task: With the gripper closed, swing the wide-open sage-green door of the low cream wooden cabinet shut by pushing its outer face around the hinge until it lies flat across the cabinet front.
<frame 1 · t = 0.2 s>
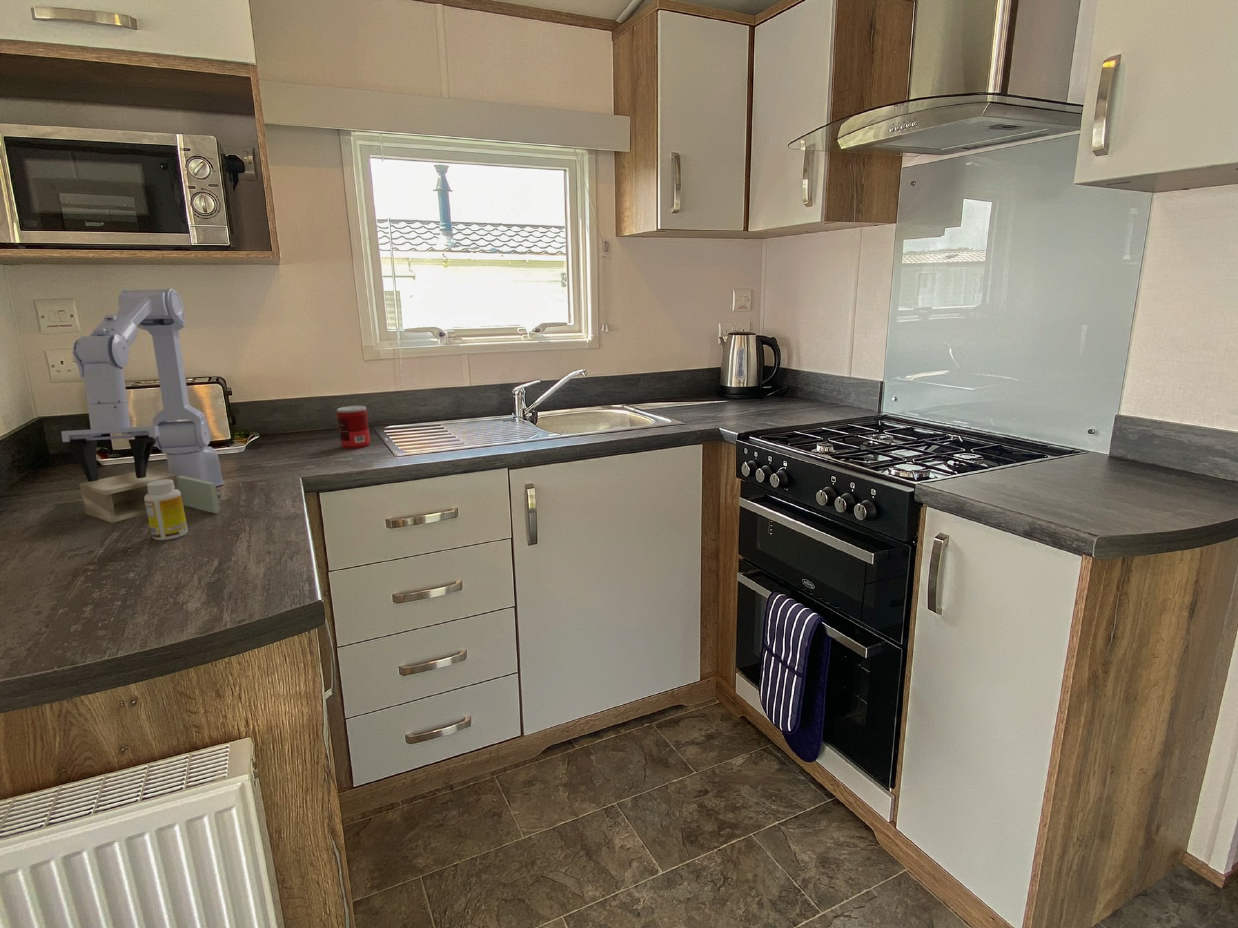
hand: (117, 479, 123), 11 cm above the counter, tool pointing down, fingers open, 7 cm apart
canned food: (356, 446, 195), on the counter
cabinet: (134, 509, 141), on the counter
door: (200, 493, 139), point 3 cm above the counter, hinge at 90.0°
supplement bottle: (170, 537, 125), on the counter
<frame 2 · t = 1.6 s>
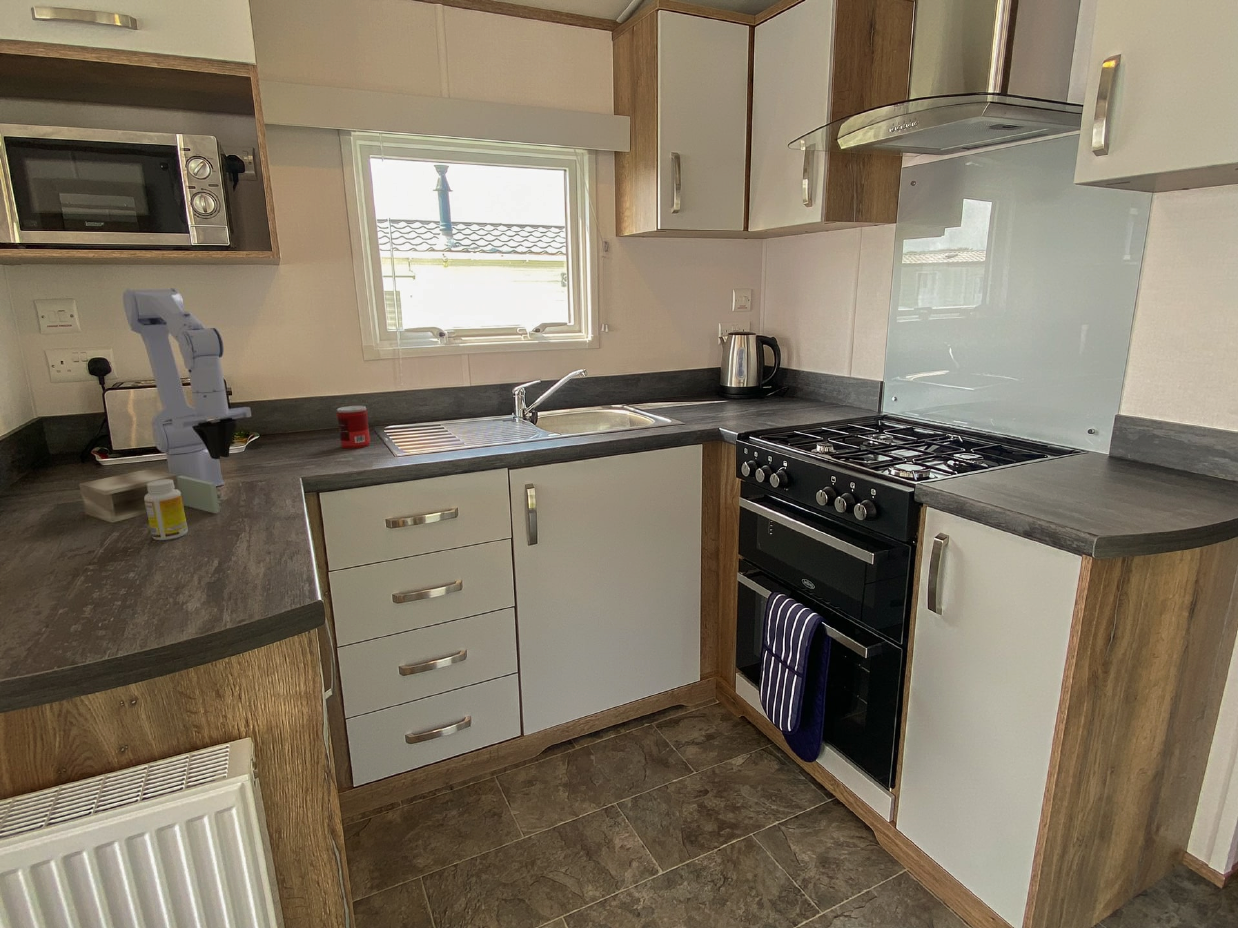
hand: (220, 457, 139), 10 cm above the counter, tool pointing down, fingers closed
nothing on the counter moved.
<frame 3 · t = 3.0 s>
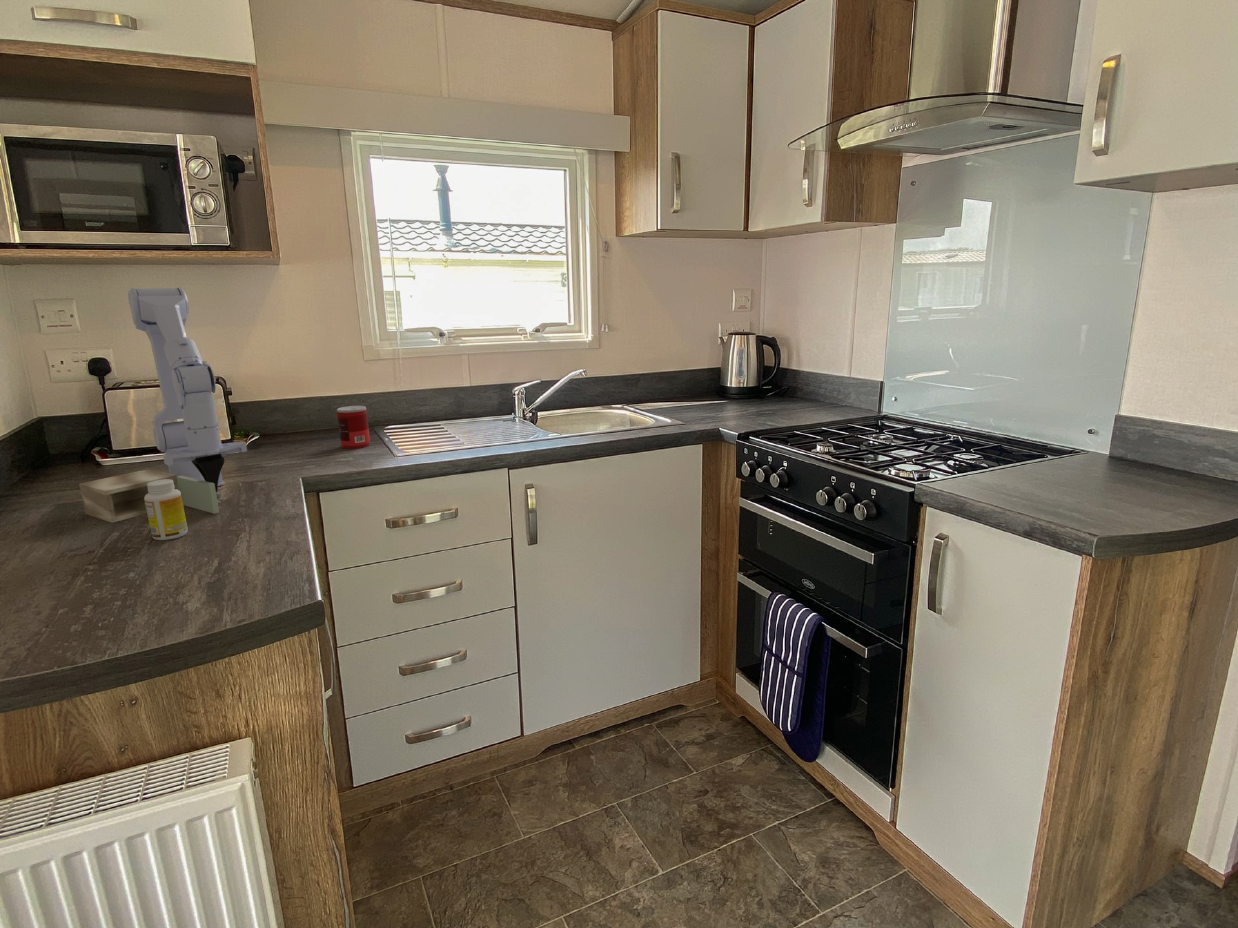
hand: (213, 492, 139), 4 cm above the counter, tool pointing down, fingers closed
door: (200, 493, 139), point 3 cm above the counter, hinge at 89.4°, touching gripper
everything else where it was.
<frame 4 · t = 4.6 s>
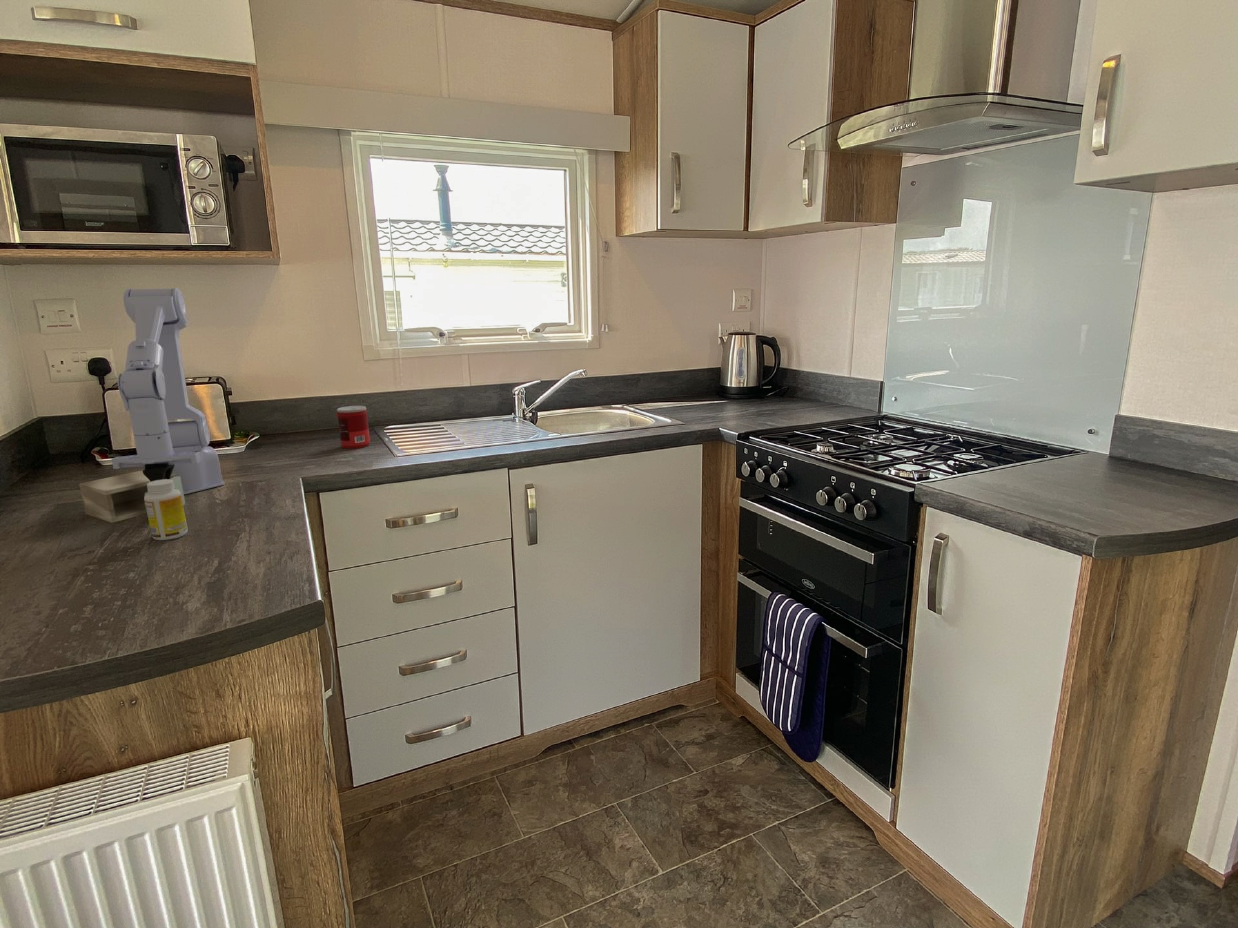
hand: (165, 501, 133), 4 cm above the counter, tool pointing down, fingers closed, pressing on door
door: (169, 498, 136), point 3 cm above the counter, hinge at 40.0°, touching gripper
everything else where it was.
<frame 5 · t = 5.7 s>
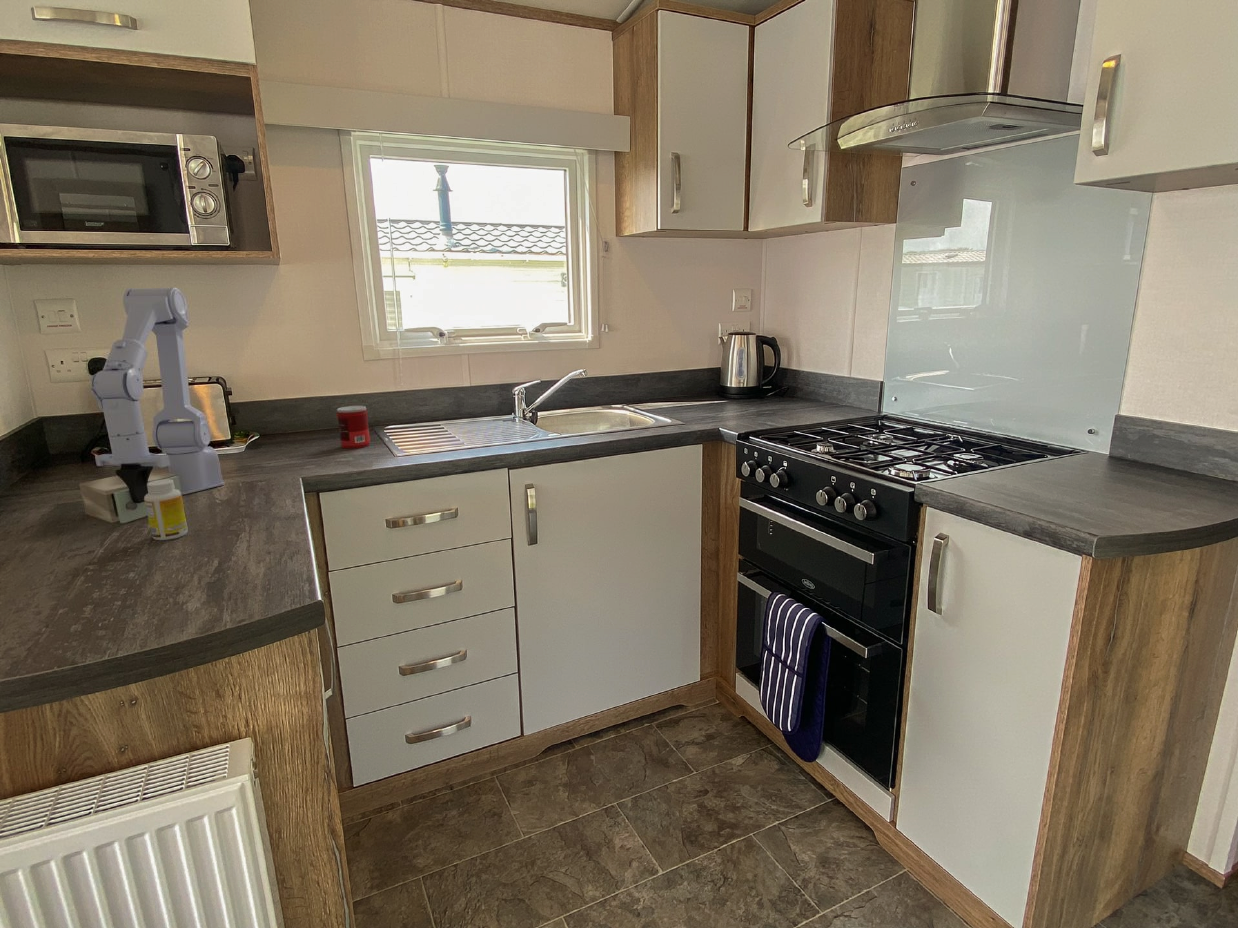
hand: (140, 501, 133), 4 cm above the counter, tool pointing down, fingers closed, pressing on door
door: (152, 499, 136), point 3 cm above the counter, hinge at 10.0°, touching gripper
everything else where it was.
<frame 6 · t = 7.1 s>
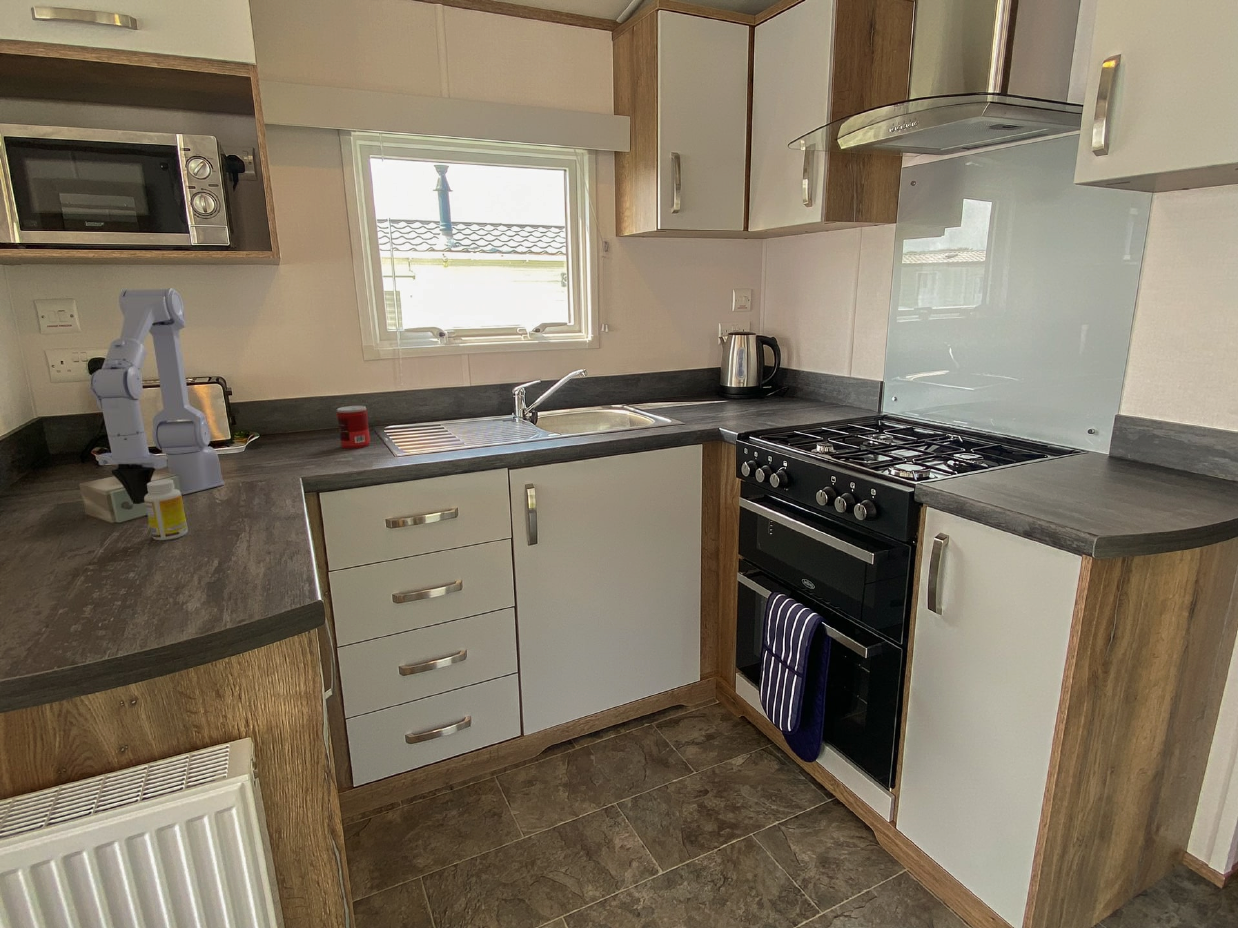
hand: (140, 502, 131), 4 cm above the counter, tool pointing down, fingers closed
door: (150, 498, 136), point 3 cm above the counter, hinge at 4.4°
everything else where it was.
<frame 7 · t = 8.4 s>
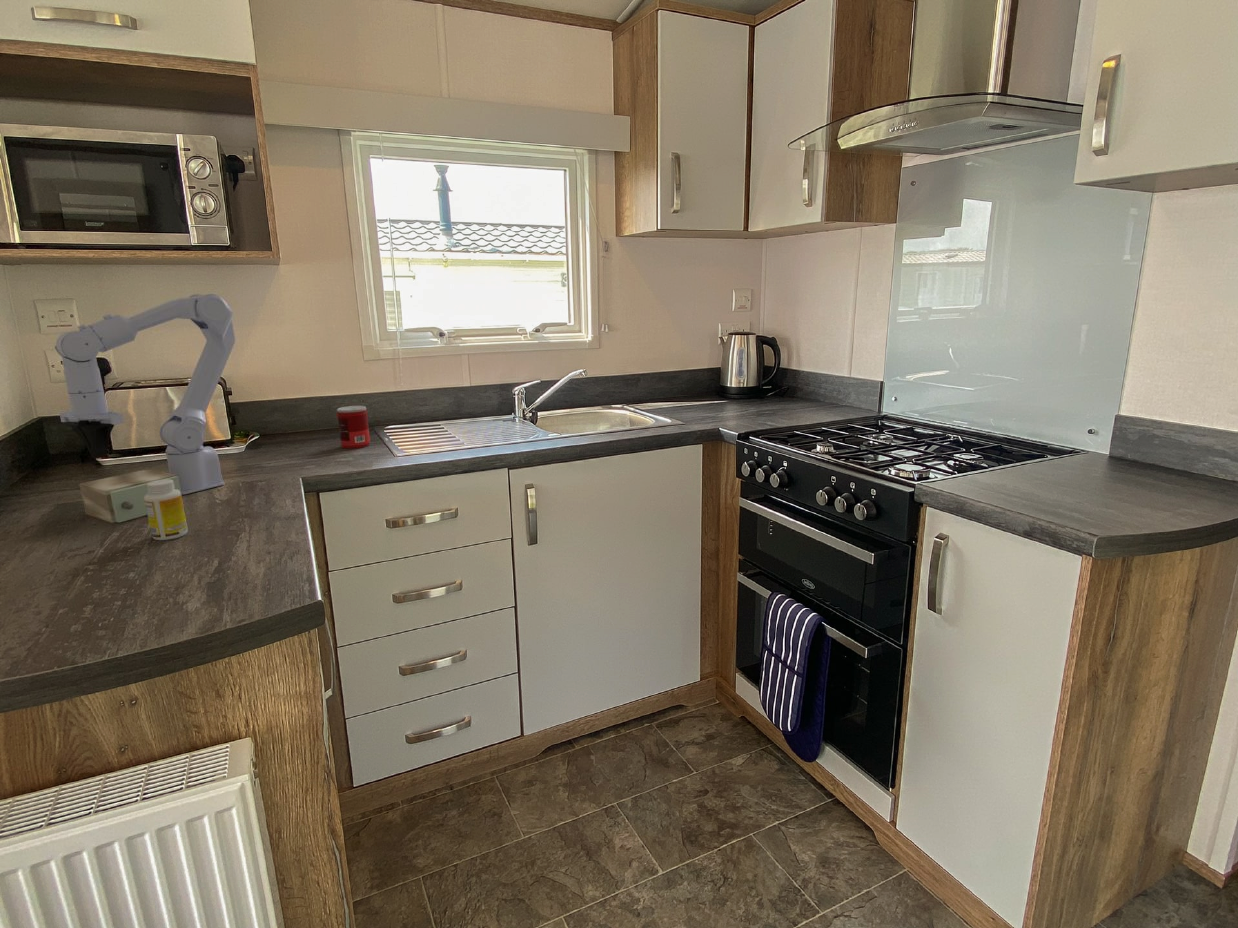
hand: (99, 457, 141), 10 cm above the counter, tool pointing down, fingers closed
nothing on the counter moved.
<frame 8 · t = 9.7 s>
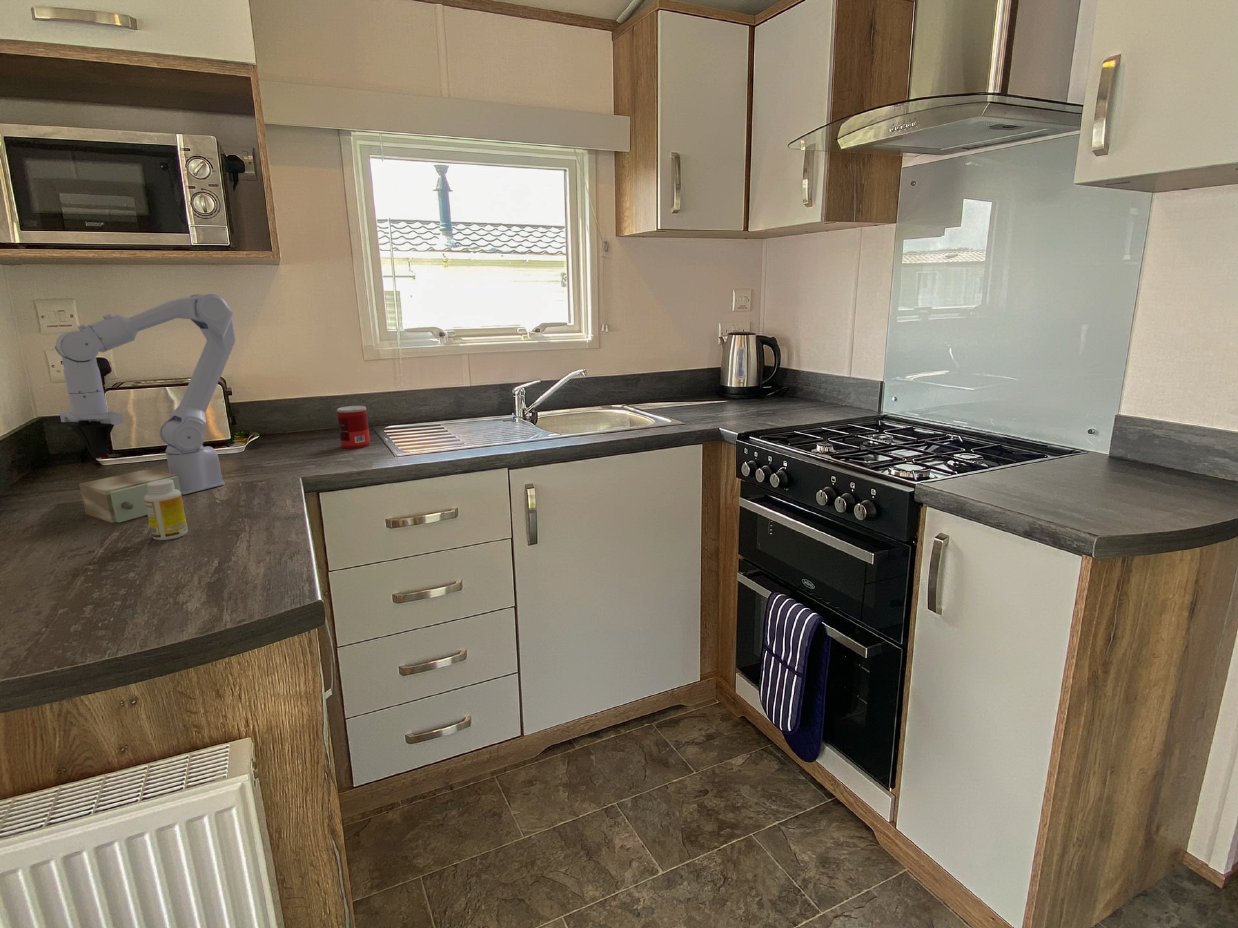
hand: (99, 457, 141), 10 cm above the counter, tool pointing down, fingers closed
nothing on the counter moved.
at the end: door at +4° (first picture: +90°); door touching nothing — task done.
